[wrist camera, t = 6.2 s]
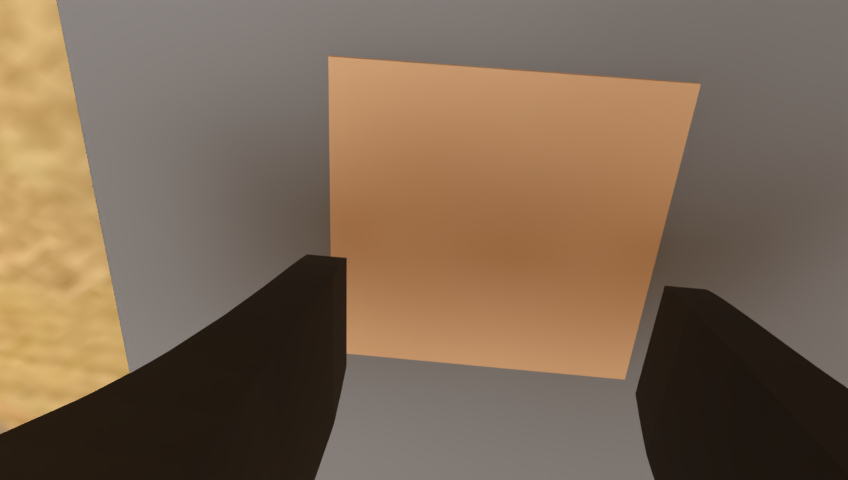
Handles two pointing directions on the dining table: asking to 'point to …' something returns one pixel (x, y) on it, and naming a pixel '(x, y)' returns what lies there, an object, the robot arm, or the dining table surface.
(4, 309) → the dining table surface
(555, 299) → the grey flat square slab
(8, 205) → the dining table surface
